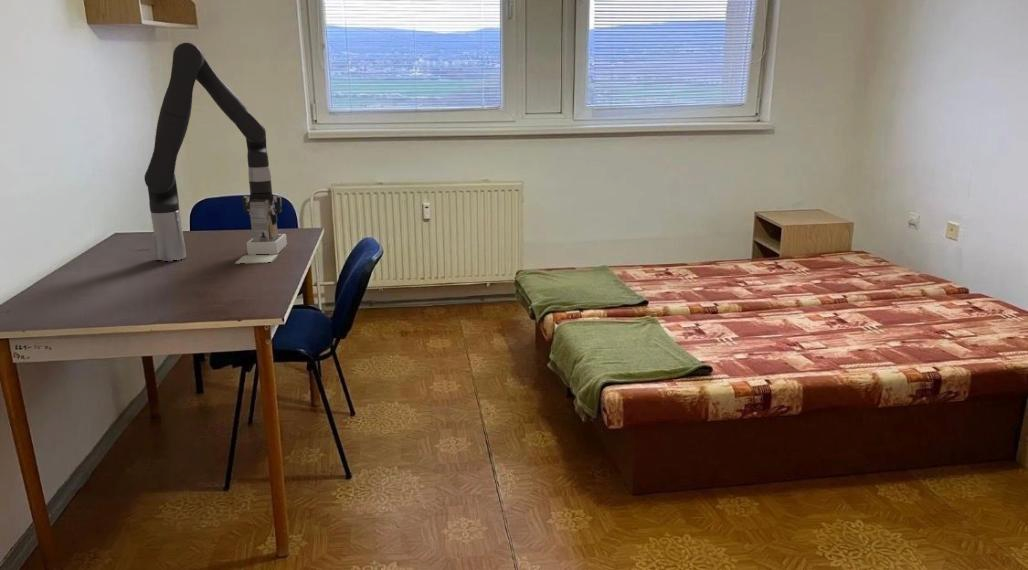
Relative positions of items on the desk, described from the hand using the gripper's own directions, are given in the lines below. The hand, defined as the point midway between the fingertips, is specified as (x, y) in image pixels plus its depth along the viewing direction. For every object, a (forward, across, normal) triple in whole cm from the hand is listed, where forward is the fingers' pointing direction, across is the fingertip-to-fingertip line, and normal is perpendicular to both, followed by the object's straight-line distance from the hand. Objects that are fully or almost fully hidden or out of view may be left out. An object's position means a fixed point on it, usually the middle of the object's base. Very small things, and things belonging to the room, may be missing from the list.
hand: (264, 224), depth 267 cm
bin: (+10, 0, 0) cm, 10 cm away
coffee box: (+7, 0, 0) cm, 7 cm away
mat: (+10, 0, -14) cm, 17 cm away
